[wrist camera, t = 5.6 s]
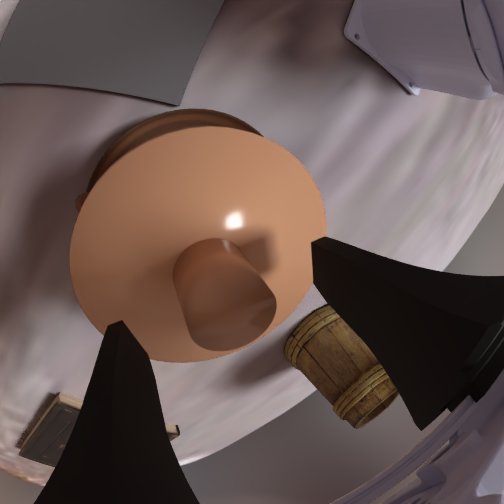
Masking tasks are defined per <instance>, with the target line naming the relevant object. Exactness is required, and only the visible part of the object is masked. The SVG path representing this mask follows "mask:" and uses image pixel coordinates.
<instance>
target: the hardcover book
mask: <svg viewBox="0 0 504 504" xmlns="http://www.w3.org/2000/svg"><path fill="white" fill-rule="evenodd" d="M82 404H83V401H82V400H79V399H76V398H74V397H71V396H69V395H66V394H64V393H61V392H59V394H58V395H57V396H56V398H55V399H54V400H53V402H52V403H51V404H50V406H49V407H48V409H47V410H46V411H45V413H44V414H43V415H42V417H41V418H40V420H39V421H38V422H37V424H36V425H35V427H34V428H33V430H32V431H31V432H30V434H29V435H28V437H27V438H26V440H25V441H24V443H23V444H22V446H21V451H20V452H19V456H22V457H25V458H27V459H30V460H33V461H36V462H39V463H42V464H45V465H49V466H52V467H56V465H57V463H58V461H59V459H60V457H61V455H62V453H63V450H64V448H65V446H66V444H67V441H68V439H69V437H70V435H71V433H72V430H73V428H74V425H75V422H76V420H77V417H78V415H79V412H80V409H81V407H82ZM165 426H166V430H167V434H168V437H169V440H170V441H171V440H173V439H175V438H176V437H178V436H179V435H180V431H179V428H178V425H176V426H174V425H169V424H165Z"/></svg>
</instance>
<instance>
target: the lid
mask: <svg viewBox="0 0 504 504" xmlns="http://www.w3.org/2000/svg"><path fill="white" fill-rule="evenodd" d="M326 231H327V224H326V214H325V209H324V205H323V201H322V197H321V195H320V192H319V190H318V188H317V185H316V183H315V182H314V180H313V178H312V177H311V175H310V173H309V172H308V171H307V170H306V168H305V167H304V166H303V165H302V164H301V162H300V161H299V160H298V159H297V158H295V157H294V156H293V155H292V154H291V153H290V152H288V151H287V150H286V149H284V148H283V147H281V146H280V145H278V144H276V143H275V142H273V141H271V140H269V139H267V138H264V137H262V136H259V135H257V134H254V133H251V132H247V131H243V130H239V129H234V128H230V127H223V126H207V125H206V126H194V127H185V128H181V129H177V130H173V131H169V132H165V133H163V134H160V135H158V136H155V137H153V138H150V139H148V140H146V141H144V142H142V143H141V144H139V145H137V146H136V147H134V148H132V149H131V150H129V151H127V152H126V153H125V154H124V155H122V156H121V157H120V158H119V159H118V160H116V161H115V162H114V163H113V164H112V165H111V166H110V167H109V168H108V169H107V170H106V171H105V172H104V173H103V175H102V176H101V177H100V178H99V179H98V180H97V182H96V183H95V185H94V186H93V188H92V189H91V191H90V193H89V194H88V196H87V197H86V200H85V202H84V204H83V206H82V208H81V211H80V213H79V215H78V218H77V220H76V223H75V226H74V230H73V234H72V238H71V243H70V257H69V263H70V275H71V280H72V284H73V288H74V292H75V295H76V297H77V299H78V302H79V304H80V306H81V308H82V310H83V311H84V313H85V314H86V316H87V318H88V319H89V320H90V322H91V323H92V324H93V325H94V326H95V327H96V329H97V330H98V331H99V332H100V333H102V334H103V335H105V332H106V329H107V326H108V325H110V324H113V323H115V322H118V321H120V320H123V322H124V323H125V324H126V326H127V327H128V328H129V330H130V331H131V333H132V334H133V335H134V337H135V338H136V339H137V341H138V342H139V343H140V344H141V346H142V347H143V348H144V350H145V351H146V352H147V353H148V356H149V359H152V360H157V361H164V362H179V363H186V362H198V361H204V360H210V359H214V358H218V357H221V356H225V355H228V354H230V353H233V352H236V351H238V350H240V349H242V348H245V347H247V346H249V345H251V344H252V343H254V342H256V341H258V340H259V339H261V338H263V337H264V336H265V335H267V334H268V333H270V332H271V331H272V330H274V329H275V328H276V327H277V326H278V325H280V324H281V323H282V322H283V321H284V320H285V319H286V318H287V317H288V316H289V315H290V314H291V313H292V312H293V311H294V310H295V308H296V307H297V306H298V305H299V303H300V302H301V301H302V299H303V298H304V297H305V295H306V294H307V292H308V291H309V289H310V287H311V285H312V283H313V270H312V253H311V242H312V241H315V240H317V239H319V238H322V237H324V236H325V237H326Z"/></svg>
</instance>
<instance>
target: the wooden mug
mask: <svg viewBox="0 0 504 504" xmlns="http://www.w3.org/2000/svg"><path fill="white" fill-rule="evenodd" d="M284 353H285V356H286V358H287V360H288V361H289V362H290V363H291V364H292V365H293V366H294V367H295V368H296V369H298V370H300V371H301V372H302V373H303V374H304V375H305V376H306V377H307V378H308V380H309V381H310V382H311V383H312V384H313V385H314V386H315V387H316V388H317V389H318V390H319V391H320V392H321V394H323V396H324V397H325V398H326V399H327V400H328V401H329V402H330V403H331V404H332V405H333V411H334V412H335V413H336V414H337V415H338V416H339V417H340V418H341V419H342V420H347V421H348V422H349V423H350V424H351V425H352V426H353V427H354V428H356V429H357V428H361V427H363V426H365V425H366V424H367V423H369V422H370V421H372V420H373V419H375V418H376V417H377V416H378V415H380V414H381V413H382V412H383V411H384V410H385V409H386V408H388V407H389V406H390V405H391V404H392V402H393V401H394V400H395V399H396V398H397V396H398V395H399V392H398V390H397V389H396V387H395V385H394V384H393V382H392V381H391V379H390V378H389V376H388V375H387V373H386V371H385V370H384V368H383V367H382V365H381V364H380V363H379V361H378V360H377V359H376V357H375V356H374V354H373V353H372V352H371V350H370V349H369V348H368V346H367V345H366V344H365V343H364V342H363V340H362V339H361V338H360V337H359V336H358V335H357V334H356V333H355V332H354V331H353V330H352V329H351V328H350V327H349V326H348V324H347V323H346V322H345V321H344V320H343V319H342V318H341V317H340V316H339V315H338V314H337V313H336V312H335V311H334V310H333V308H332V307H331V306H330V305H327V306H325V307H323V308H321V309H319V310H317V311H315V312H314V313H312V314H311V315H309V316H308V317H307V318H305V319H304V320H303V321H302V322H301V323H300V324H299V325H298V327H297V328H296V329H295V330H294V331H293V333H292V334H291V336H290V337H289V339H288V341H287V343H286V346H285V348H284Z"/></svg>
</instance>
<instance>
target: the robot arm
mask: <svg viewBox="0 0 504 504" xmlns="http://www.w3.org/2000/svg"><path fill="white" fill-rule="evenodd" d="M344 35H345V37H346V38H348V39H349V40H350V41H352V42H353V43H354V44H356V45H357V46H358V47H359V48H361V49H362V50H363V51H364V52H366V53H367V54H368V55H369V56H371V57H372V58H373V59H374V60H375V61H377V62H378V63H379V64H380V65H381V66H382V67H384V68H385V69H386V70H387V71H388V72H389V73H390V74H391V75H392V76H394V77H395V78H396V79H397V80H398V81H399V82H400V83H401V84H402V85H403V86H404V87H405V88H406V89H407V90H408V91H409V92H410V93H411V94H412V95H414V96H418V94H419V92H420V88H422V89H428V90H434V91H439V92H444V93H449V94H453V95H457V96H462V97H466V98H470V99H475V100H483V99H488V98H491V97H493V96H495V95H496V94H498V93H499V94H503V95H504V0H355V1H354V4H353V6H352V9H351V12H350V15H349V17H348V20H347V23H346V25H345V28H344ZM355 36H356V38H355ZM311 253H312V270H313V284H314V285H315V286H316V288H317V289H318V291H319V292H320V294H321V295H322V296H323V298H324V299H325V300H326V302H327V303H328V304H329V305H330V306H331V307H332V308H333V310H334V311H335V312H336V313H337V314H338V315H339V316H340V317H341V318H342V319H343V320H344V321H345V322H346V323H347V324H348V326H349V327H350V328H351V329H352V330H353V331H354V332H355V333H356V334H357V335H358V336H359V337H360V338H361V339H362V340H363V342H364V343H365V344H366V345H367V346H368V348H369V349H370V350H371V352H372V353H373V354H374V356H375V357H376V359H377V360H378V361H379V363H380V364H381V365H382V367H383V368H384V370H385V371H386V373H387V375H388V376H389V378H390V379H391V381H392V382H393V384H394V385H395V387H396V389H397V390H398V392H399V394H400V396H401V397H402V399H403V401H404V402H405V405H406V407H407V408H408V410H409V412H410V414H411V416H412V418H413V421H414V423H415V424H416V426H417V427H418V428H419V429H420V430H421V431H422V430H423V429H424V428H426V427H427V426H428V425H429V424H430V423H431V422H432V421H434V420H435V419H436V418H437V417H438V416H439V415H440V414H441V413H442V412H443V411H444V410H445V409H446V408H448V409H449V411H450V412H451V413H450V414H449V415H448V416H447V417H446V418H445V419H444V420H443V421H442V422H441V423H440V424H439V425H438V426H437V427H436V428H435V429H434V430H433V431H432V432H431V433H430V434H429V435H428V436H426V437H425V438H424V439H423V440H422V441H421V442H420V443H419V444H417V445H416V446H415V447H414V448H413V449H411V450H410V451H409V452H408V453H407V454H405V455H404V456H403V457H401V458H400V459H399V460H397V461H396V462H395V463H394V464H392V465H391V466H390V467H388V468H387V469H386V470H384V471H383V472H381V473H380V474H378V475H377V476H375V477H374V478H372V479H371V480H369V481H368V482H366V483H365V484H363V485H362V486H360V487H358V488H357V489H355V490H353V491H352V492H350V493H348V494H347V495H345V496H343V497H341V498H339V499H338V500H336V501H334V502H332V503H330V504H369V503H370V502H372V501H373V500H375V499H376V498H378V497H380V496H381V495H383V494H384V493H385V492H387V491H388V490H390V489H391V488H393V487H394V486H395V485H396V484H398V483H399V482H401V481H402V480H403V479H405V478H406V477H407V476H408V475H410V474H411V473H412V472H413V471H414V470H416V469H417V468H418V467H419V466H421V465H422V464H423V463H424V462H425V461H426V460H427V461H426V463H424V465H423V466H422V467H421V468H420V469H419V470H418V471H417V473H416V475H417V476H418V477H417V478H416V479H415V480H413V481H412V482H411V483H409V484H408V485H406V486H405V487H404V488H402V489H401V490H400V491H398V492H396V493H395V494H393V495H392V496H390V497H389V498H387V499H386V500H384V501H382V502H381V503H379V504H504V276H472V275H461V274H453V273H447V272H440V271H435V270H430V269H426V268H422V267H417V266H413V265H409V264H406V263H402V262H399V261H396V260H393V259H389V258H386V257H383V256H380V255H377V254H374V253H371V252H369V251H366V250H363V249H360V248H357V247H355V246H352V245H349V244H346V243H343V242H341V241H338V240H335V239H332V238H328V237H325V236H324V237H322V238H319V239H317V240H315V241H312V242H311ZM448 440H449V441H450V442H449V444H448V445H446V446H445V447H443V448H442V449H440V450H439V451H438V452H436V451H437V450H438V449H439V448H441V446H442V445H444V444H445V442H447V441H448ZM435 452H436V453H435ZM434 453H435V454H434ZM433 454H434V455H433ZM432 455H433V456H432ZM431 456H432V457H431ZM34 504H200V503H199V502H198V500H197V498H196V496H195V495H194V493H193V491H192V489H191V487H190V486H189V484H188V482H187V480H186V478H185V476H184V473H183V471H182V469H181V467H180V465H179V463H178V460H177V458H176V455H175V453H174V451H173V448H172V446H171V443H170V440H169V437H168V434H167V430H166V426H165V422H164V417H163V413H162V409H161V404H160V399H159V394H158V389H157V384H156V379H155V376H154V372H153V369H152V366H151V362H150V359H149V356H148V353H147V352H146V351H145V350H144V348H143V347H142V346H141V344H140V343H139V342H138V341H137V339H136V338H135V337H134V335H133V334H132V333H131V331H130V330H129V328H128V327H127V326H126V324H125V323H124V322H123V320H120V321H118V322H115V323H113V324H110V325H108V326H107V329H106V332H105V335H104V338H103V341H102V344H101V347H100V350H99V353H98V357H97V360H96V363H95V366H94V369H93V373H92V376H91V379H90V382H89V385H88V388H87V391H86V394H85V397H84V401H83V404H82V407H81V409H80V412H79V415H78V417H77V420H76V422H75V425H74V428H73V430H72V433H71V435H70V437H69V439H68V441H67V444H66V446H65V448H64V450H63V453H62V455H61V457H60V459H59V461H58V463H57V465H56V467H55V469H54V471H53V473H52V474H51V476H50V478H49V480H48V482H47V483H46V485H45V487H44V488H43V490H42V492H41V493H40V495H39V496H38V498H37V499H36V501H35V502H34Z"/></svg>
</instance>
